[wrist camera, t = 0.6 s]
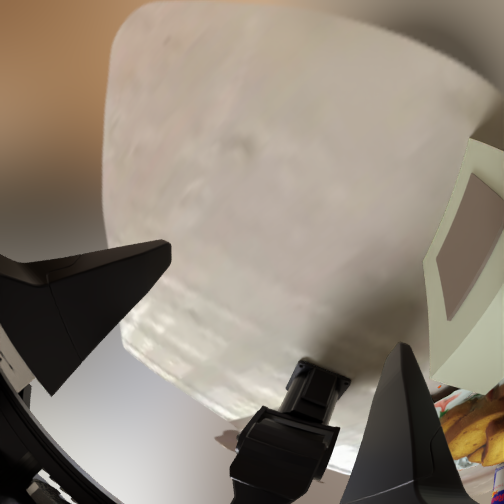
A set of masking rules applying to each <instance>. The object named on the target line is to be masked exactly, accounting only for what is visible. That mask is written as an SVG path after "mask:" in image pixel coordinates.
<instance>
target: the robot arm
mask: <svg viewBox="0 0 504 504" xmlns="http://www.w3.org/2000/svg"><path fill="white" fill-rule="evenodd" d="M171 260H172V254H171V244H170V243H169V242H167V241H165V240H162V239H161V240H155V241H149V242H144V243H138V244H133V245H127V246H122V247H116V248H111V249H106V250H100V251H95V252H90V253H85V254H82V255H81V254H80V255H75V256H69V257H64V258H58V259H51V260H43V261H37V262H29V263H21V262H16V261H13V260H11V259H9V258H7V257H5V256H3V255H1V254H0V504H71V503H69V502H67V501H66V500H65V499H64V498H63V497H62V496H61V495H60V494H61V493H60V492H59V491H58V490H57V489H55V488H54V487H52V486H50V485H49V484H48V483H47V482H46V481H45V480H44V479H43V478H42V477H41V476H39V475H38V474H37V473H38V472H39V471H40V470H41V469H43V470H44V471H45V472H47V473H48V474H49V475H50V477H49V478H50V479H51V480H53V481H54V482H56V483H57V484H58V485H59V486H60V489H61V490H62V491H64V492H65V493H67V494H68V495H69V496H71V497H72V498H71V500H72V501H73V502H75V503H77V504H124V503H122V502H121V501H120V500H119V499H117V498H116V497H115V496H113V495H112V494H111V493H109V492H108V491H107V490H106V489H105V488H103V487H102V486H101V485H100V484H99V483H98V482H96V481H95V480H94V479H93V478H92V477H91V476H90V475H89V474H87V473H86V472H85V471H84V470H83V469H82V468H81V467H80V466H79V465H78V464H77V463H76V462H75V461H74V460H73V459H72V458H71V457H70V456H69V455H68V454H67V453H66V452H65V451H64V450H63V449H62V448H61V447H60V446H59V445H58V444H57V443H56V441H55V440H54V439H53V438H52V437H51V436H50V435H49V434H48V432H47V431H46V430H45V429H44V428H43V426H42V425H41V424H40V423H39V421H38V420H37V419H36V418H35V416H34V415H33V414H32V413H31V411H30V397H31V385H30V384H29V383H30V382H31V381H32V380H33V379H34V378H36V379H37V380H38V382H39V383H40V384H41V385H42V387H43V388H44V389H45V390H46V392H48V394H49V395H50V396H51V397H52V396H53V395H54V394H55V392H57V390H58V389H59V388H60V387H61V386H62V385H63V383H64V382H65V381H66V380H67V379H68V378H69V377H70V375H71V374H72V373H73V372H74V371H75V370H76V369H77V368H78V366H79V365H80V364H81V363H82V361H84V360H85V359H86V357H87V356H88V355H89V354H90V353H91V352H92V351H93V350H94V349H95V348H96V346H97V345H98V344H99V343H100V342H101V341H102V340H103V339H104V338H105V337H106V336H107V335H108V333H109V332H110V331H111V330H112V329H113V328H114V327H115V326H116V325H117V324H118V323H119V322H120V321H121V320H122V319H123V318H124V317H125V316H126V315H127V314H128V313H129V312H130V310H131V309H132V308H133V307H134V306H135V305H136V304H137V303H138V302H139V301H140V300H141V299H142V298H143V297H144V296H145V295H146V294H147V293H148V292H149V291H150V289H151V288H152V287H153V286H154V284H155V283H156V282H157V281H158V279H159V278H160V277H161V276H162V275H163V273H164V272H165V271H166V270H167V268H168V267H169V266H170V264H171ZM350 384H351V380H350V379H348V378H346V377H343V376H340V375H337V374H335V373H332V372H330V371H327V370H324V369H322V368H319V367H317V366H314V365H312V364H309V363H307V362H304V361H299V362H298V363H297V366H296V368H295V370H294V372H293V374H292V376H291V378H290V380H289V382H288V384H287V386H286V390H288V392H287V394H286V396H285V398H284V400H283V402H282V404H281V406H280V408H279V410H278V411H275V410H272V409H269V408H268V407H266V406H262V407H261V409H260V410H259V411H257V412H256V414H255V415H254V416H253V418H252V419H251V420H250V422H249V423H248V424H247V425H246V427H245V428H244V429H243V430H242V431H241V432H240V433H239V434H238V435H237V437H236V439H237V442H238V443H237V446H236V453H237V456H236V458H235V459H234V461H233V462H232V464H231V466H230V478H232V480H233V488H234V498H233V500H232V502H231V504H291V503H292V502H294V501H295V500H297V499H298V498H300V497H301V496H303V495H304V494H305V493H306V492H307V491H308V489H309V487H310V485H311V482H312V480H313V479H314V480H317V481H320V480H321V478H322V476H323V474H324V472H325V470H326V467H327V465H328V462H329V460H330V457H331V455H332V452H333V449H334V446H335V443H336V440H337V437H338V434H339V431H340V427H332V426H328V424H329V421H330V419H331V416H332V413H333V410H334V407H335V404H336V402H337V400H338V399H339V398H340V397H341V396H342V394H343V393H344V392H345V391H346V390H347V388H348V387H349V386H350ZM340 504H479V503H477V502H476V501H474V500H473V499H472V498H470V496H469V495H468V494H467V493H466V491H465V489H464V487H463V484H462V481H461V478H460V476H459V473H458V470H457V468H456V465H455V462H454V460H453V457H452V454H451V452H450V449H449V446H448V443H447V440H446V437H445V434H444V431H443V428H442V426H441V423H440V420H439V417H438V414H437V411H436V408H435V405H434V403H433V400H432V397H431V395H430V392H429V390H428V387H427V384H426V382H425V379H424V377H423V374H422V372H421V370H420V367H419V365H418V363H417V360H416V358H415V356H414V353H413V351H412V349H411V347H410V345H408V344H405V343H403V342H399V343H398V344H397V345H396V346H395V348H394V349H393V350H392V352H391V353H390V354H389V355H388V357H387V359H386V361H385V364H384V367H383V370H382V374H381V377H380V380H379V383H378V386H377V389H376V392H375V395H374V398H373V401H372V405H371V409H370V413H369V417H368V421H367V425H366V428H365V432H364V435H363V439H362V442H361V446H360V449H359V452H358V455H357V458H356V461H355V464H354V467H353V470H352V473H351V475H350V479H349V481H348V484H347V486H346V489H345V491H344V494H343V496H342V499H341V501H340Z"/></svg>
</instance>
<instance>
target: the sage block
mask: <svg viewBox="0 0 504 504" xmlns="http://www.w3.org/2000/svg"><path fill="white" fill-rule="evenodd" d="M422 263H423V270H424V277H425V286H426V295H427V306H428V320H429V342H430V376H429V379H430V380H434V381H437V382H440V383H443V384H447V385H450V386H453V387H457V388H460V389H464V390H467V391H471V392H475V393H478V394H482V395H486V394H487V393H488V392H489V391H490V390H491V389H492V388H493V387H494V386H496V385H497V384H498V383H499V382H500V381H501V380H502V379H503V378H504V151H502V150H500V149H497V148H495V147H492V146H490V145H487V144H485V143H482V142H479V141H477V140H474V139H471V138H469V141H468V145H467V148H466V152H465V155H464V159H463V162H462V165H461V168H460V172H459V175H458V178H457V181H456V184H455V186H454V189H453V192H452V195H451V197H450V200H449V203H448V205H447V208H446V210H445V213H444V215H443V218H442V220H441V223H440V225H439V227H438V230H437V232H436V234H435V237H434V239H433V241H432V243H431V245H430V248H429V250H428V252H427V254H426V256H425V258H424V260H423V262H422Z"/></svg>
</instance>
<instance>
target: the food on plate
mask: <svg viewBox="0 0 504 504" xmlns="http://www.w3.org/2000/svg"><path fill="white" fill-rule="evenodd" d="M440 387H441V385H440V386H439V387H438V388H440ZM472 393H473V392H471V391H467V390H464V389H460V390H457V391H454V392H453V393H452V394H451V395H449V396H447V397H445V398H443V399H441V400H440V401H438V402H436V403H434V405H435V408H436V411H437V414H438V417H439V420H440V423H441V426H442V428H443V431H444V434H445V437H446V440H447V443H448V446H449V449H450V452H451V454H452V457H453V460H454V462H455V465H456V468H457V470H463V469H465V468H471V467H476V466H477V465H478V464H482V466H484V467H485V466H493V465H496V464H499V463H502V462H504V378H503V379H502V380H501V381H500V382H499V383H498V384H497V385H496V386H494V387H493V388H492V389H491V390H490V391H489V392H488V393H487V394H486V395H482V394H477V395H474V396H472V397H470V398H469V399H465V398H467V397H469V396H470V395H471V394H472Z"/></svg>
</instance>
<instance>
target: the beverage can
mask: <svg viewBox="0 0 504 504" xmlns="http://www.w3.org/2000/svg"><path fill="white" fill-rule="evenodd" d="M491 504H504V463H502V464H500V465H499V466H498V468H496V470H495V477H494V487H493V495H492V501H491Z"/></svg>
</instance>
